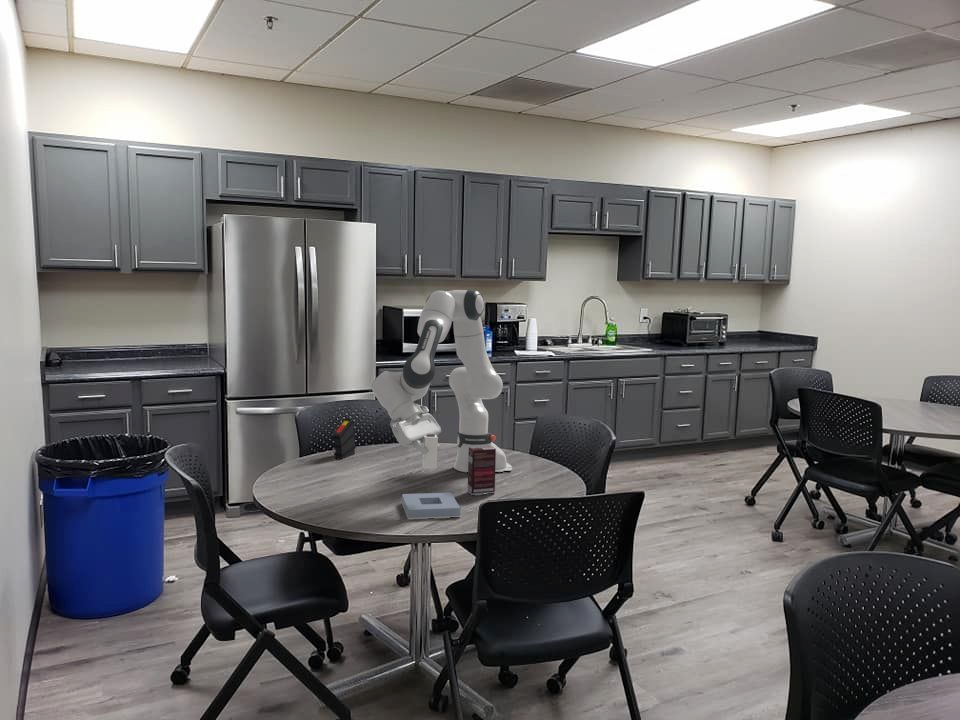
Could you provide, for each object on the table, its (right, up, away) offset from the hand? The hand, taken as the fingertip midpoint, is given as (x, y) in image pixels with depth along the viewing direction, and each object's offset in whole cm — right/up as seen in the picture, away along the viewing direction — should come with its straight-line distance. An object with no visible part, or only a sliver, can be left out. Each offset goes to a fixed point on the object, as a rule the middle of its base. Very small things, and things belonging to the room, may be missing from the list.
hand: (431, 450), depth 224 cm
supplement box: (+15, -17, +21) cm, 32 cm away
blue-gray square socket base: (-1, -19, +1) cm, 19 cm away
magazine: (-40, -11, +64) cm, 76 cm away
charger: (-1, -5, +1) cm, 5 cm away
